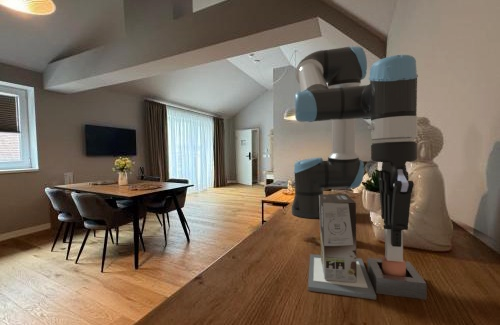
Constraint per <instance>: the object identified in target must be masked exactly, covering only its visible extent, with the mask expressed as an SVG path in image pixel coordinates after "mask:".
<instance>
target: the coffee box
mask: <svg viewBox="0 0 500 325" xmlns="http://www.w3.org/2000/svg"><path fill="white" fill-rule="evenodd" d="M356 209H357V203H356V201H354V200H353V198H351V197H350V196H349V195H348V194H347V193H328V194H323V195H319V212H320V218H319V234H320V243H319V244H320V255H321V263H322V268H323V273H324V279H325V280H332V281H343V282H353V283H356V282H357V266H356V258H357V210H356Z"/></svg>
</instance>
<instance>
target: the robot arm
mask: <svg viewBox="0 0 500 325" xmlns="http://www.w3.org/2000/svg"><path fill="white" fill-rule="evenodd" d="M369 70H370V72H369V78H368V80H369V84H366V85H362V84H361V81H362V80H364V79H365V78H366V76H367V71H368V60H367V54H366V52H365V50H364V48H362V47H361V46H346V47H339V48H338V47H337V48H332V49H330V48H329V49H322V50H321V49H320V50H317V51H314V52H311V53H309V54H308V55H307V56H305V57H304V58H303V59H301V60H300V62H299V63H298V64H297V66H296V68H295V78H296V81H297V83H298V85H299V87H300V88H299V89H300V91H297V92H295V94H294V109H295V110H294V111H295V113H294V114H295V119H296V121H297V122H299V123H300V122H301V123H302V122H304V123H305V122H308V123H313V122H321V121H331V153H329V155H328V156H327V160H323V158H322V157H313V158H306V159H302V160H298V161H296V162H295V163H294V166H293V167H294V171H293V174H294V198H293V201H292V204H291V214H292V215H294V216H295V217H299V218H305V219H316V218H319V219H320V212H319V195H324V189H325V190H326V189H327V190H328V189H330V190H331V189H334V190H335V189H338V190H339V189H343V190H345V189H346V190H349V189H356V188H357V189H358V188H359V187H360V186H361V184H362V182H363V180H364V175H365V168H364V167H365V163H364V162H363V160H362V159H360V156H359V154H357V153H356V119H362V120H370V125H367V130H369V131H370V136H371V137H370V139H371V141H374V143H372V144H371V145H370V159H371V161H372V162H375V163H381V170H379V173H378V174H377V180H378V185H379V186H378V187H379V198H380V199H379V200H380V212H381V214H380V217H381V220H383V229H384V252H385V253H384V256H385V258H386V259H387V261H397V262H403V260H404V234H403V233H404V231H408V228H409V220H410V209H411V202H412V199H411V198H412V194H413V193H412V192H413V189H414V186H415V183H414V181H413V180H409V172H408V171H407V165H406V164H407V163H410V162H411V163H412V162H415V161H416V160H417V159H418V143H417V142H416V141H414V139H416V138H418V116H417V114H418V113H417V112H418V111H417V110H418V109H417V107H418V106H417V105H418V103H417V102H418V98H417V97H418V77H419V75H418V73H417V72H418V70H417V61H416V58H415V57H414V56H413V55H410V54H396V55H392V56H391V55H390V56H386V57H384V58H381V59H379V60H377V61H375V62H373V64H371V66H370V69H369Z"/></svg>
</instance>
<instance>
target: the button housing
mask: <svg viewBox="0 0 500 325" xmlns="http://www.w3.org/2000/svg"><path fill="white" fill-rule="evenodd" d="M404 261H405V262H406V277H401V276H392V275H383V273H382V258H372V257H367V264H366V265H367V273H368V276H369V278H370V281H371V284H372V286H373V289H374V291H375V294H379V295H380V294H381V295H385V296H386V295H387V296H393V297H395V296H396V297H404V298H411V299H417V300H418V299H419V300H427V297H428V296H427V292H428V291H427V289H428V288H427V287H428V286H427V282H426V281H425V280H424V278H423V277H422V276H421V274H420V273H419V272H418V271H417V269H416V268H415V267H414V266H413V264H412V263H411V262H410V261H409V260H408V261H406V260H404Z"/></svg>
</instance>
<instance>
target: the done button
mask: <svg viewBox="0 0 500 325" xmlns="http://www.w3.org/2000/svg"><path fill="white" fill-rule="evenodd" d="M381 259H382V273H383V275H392V276H401V277H406V262H405V261H406V260H405V259H403V262H397V261H387V259H386V258H385V255H383V256H382V258H381Z"/></svg>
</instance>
